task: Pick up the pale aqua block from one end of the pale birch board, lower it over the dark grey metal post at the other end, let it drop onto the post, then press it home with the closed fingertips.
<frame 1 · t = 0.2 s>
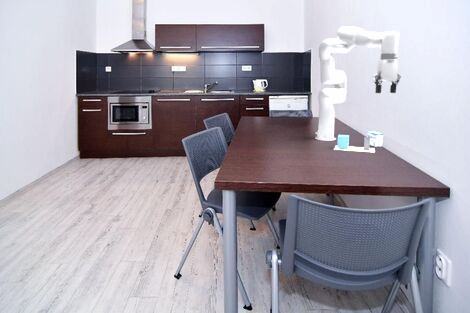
hand: (385, 93, 190), 31 cm above the table, tool pointing down, fingers open, 9 cm apart
pale aqua block: (342, 148, 200), point 1 cm above the table, touching base board
medicine box: (373, 148, 210), on the table
base board: (354, 151, 199), on the table
post: (366, 149, 197), resting on base board
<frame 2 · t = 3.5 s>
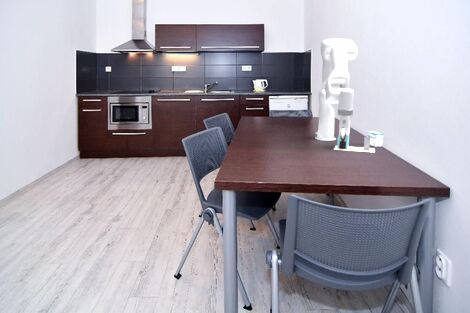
hand: (342, 147, 200), 2 cm above the table, tool pointing down, fingers closed on pale aqua block, 5 cm apart
pale aqua block: (342, 148, 200), point 1 cm above the table, touching base board, gripper
everything else where it was.
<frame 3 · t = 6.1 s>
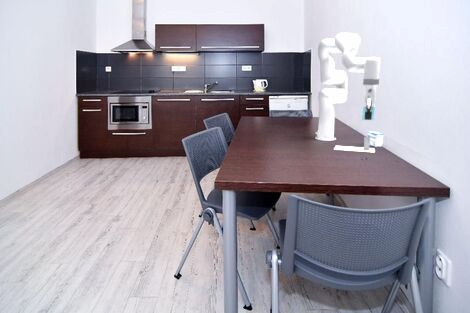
hand: (368, 118, 193), 18 cm above the table, tool pointing down, fingers closed on pale aqua block, 5 cm apart
pale aqua block: (367, 119, 193), point 17 cm above the table, touching gripper
everything else where it was.
when the fingers open (4 cm above the table, at t = 8.8 s): pale aqua block drops 2 cm, resting on post.
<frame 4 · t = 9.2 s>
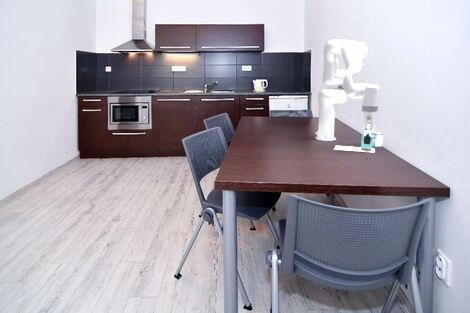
hand: (366, 142, 196), 5 cm above the table, tool pointing down, fingers open, 9 cm apart
pale aqua block: (366, 148, 197), point 2 cm above the table, touching post
everything else where it was.
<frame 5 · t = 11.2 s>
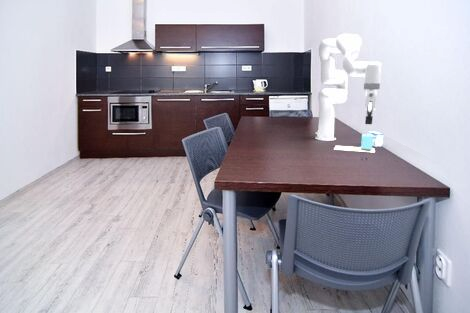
hand: (368, 123, 194), 15 cm above the table, tool pointing down, fingers open, 3 cm apart
nothing on the table moved.
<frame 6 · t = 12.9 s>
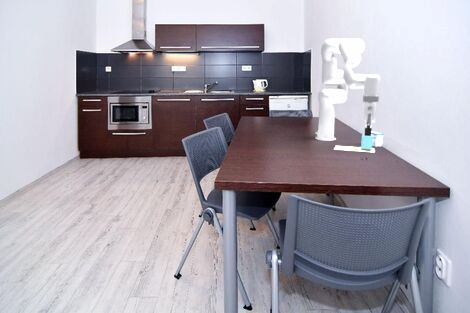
hand: (367, 135, 195), 9 cm above the table, tool pointing down, fingers closed
pale aqua block: (366, 148, 197), point 2 cm above the table, touching gripper, post
everything else where it was.
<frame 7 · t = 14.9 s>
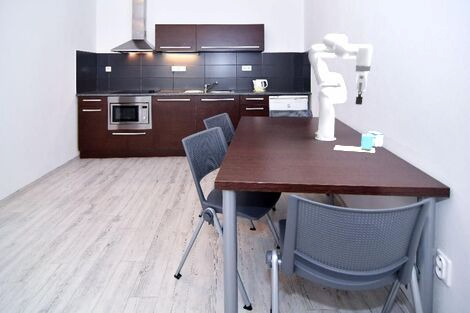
hand: (358, 104, 203), 24 cm above the table, tool pointing down, fingers closed
pale aqua block: (366, 148, 197), point 2 cm above the table, touching post
everything else where it was.
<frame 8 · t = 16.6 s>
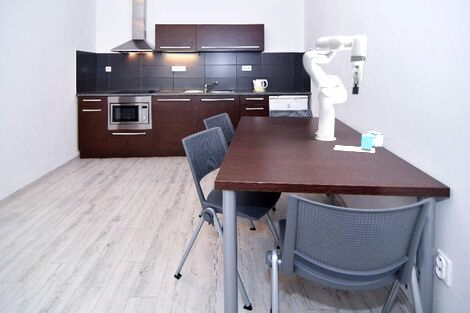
hand: (355, 94, 207), 29 cm above the table, tool pointing down, fingers closed
nothing on the table moved.
at the end: pale aqua block 0.0 cm from the post (horizontally); pale aqua block point 2.3 cm above the table; pale aqua block tilted 0° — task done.
